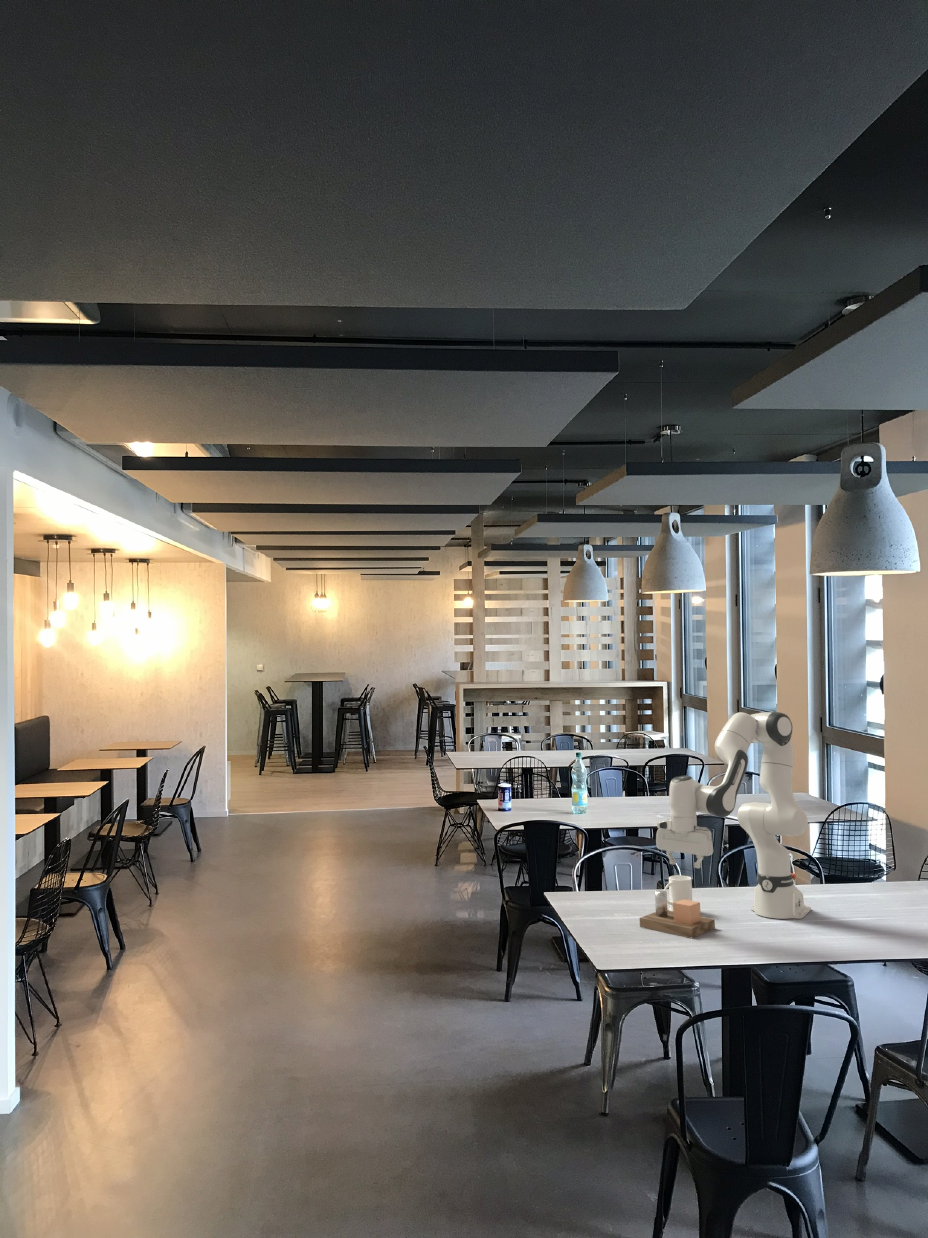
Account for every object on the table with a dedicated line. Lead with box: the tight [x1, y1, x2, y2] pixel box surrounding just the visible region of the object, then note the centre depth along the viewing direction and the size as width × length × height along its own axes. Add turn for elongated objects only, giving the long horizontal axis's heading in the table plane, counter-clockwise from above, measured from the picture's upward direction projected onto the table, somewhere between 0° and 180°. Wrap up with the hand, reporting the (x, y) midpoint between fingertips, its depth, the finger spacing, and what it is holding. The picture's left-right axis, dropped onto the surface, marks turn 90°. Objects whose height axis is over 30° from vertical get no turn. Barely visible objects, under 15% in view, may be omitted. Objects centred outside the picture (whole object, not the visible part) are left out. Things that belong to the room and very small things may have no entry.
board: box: [639, 909, 716, 938], centre depth 290 cm, size 15×20×3 cm
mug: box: [663, 874, 693, 911], centre depth 311 cm, size 12×8×12 cm
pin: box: [654, 890, 668, 917], centre depth 295 cm, size 4×4×8 cm
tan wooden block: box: [673, 899, 702, 924], centre depth 288 cm, size 6×6×6 cm
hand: (685, 866), depth 289 cm, fingers open, 8 cm apart
